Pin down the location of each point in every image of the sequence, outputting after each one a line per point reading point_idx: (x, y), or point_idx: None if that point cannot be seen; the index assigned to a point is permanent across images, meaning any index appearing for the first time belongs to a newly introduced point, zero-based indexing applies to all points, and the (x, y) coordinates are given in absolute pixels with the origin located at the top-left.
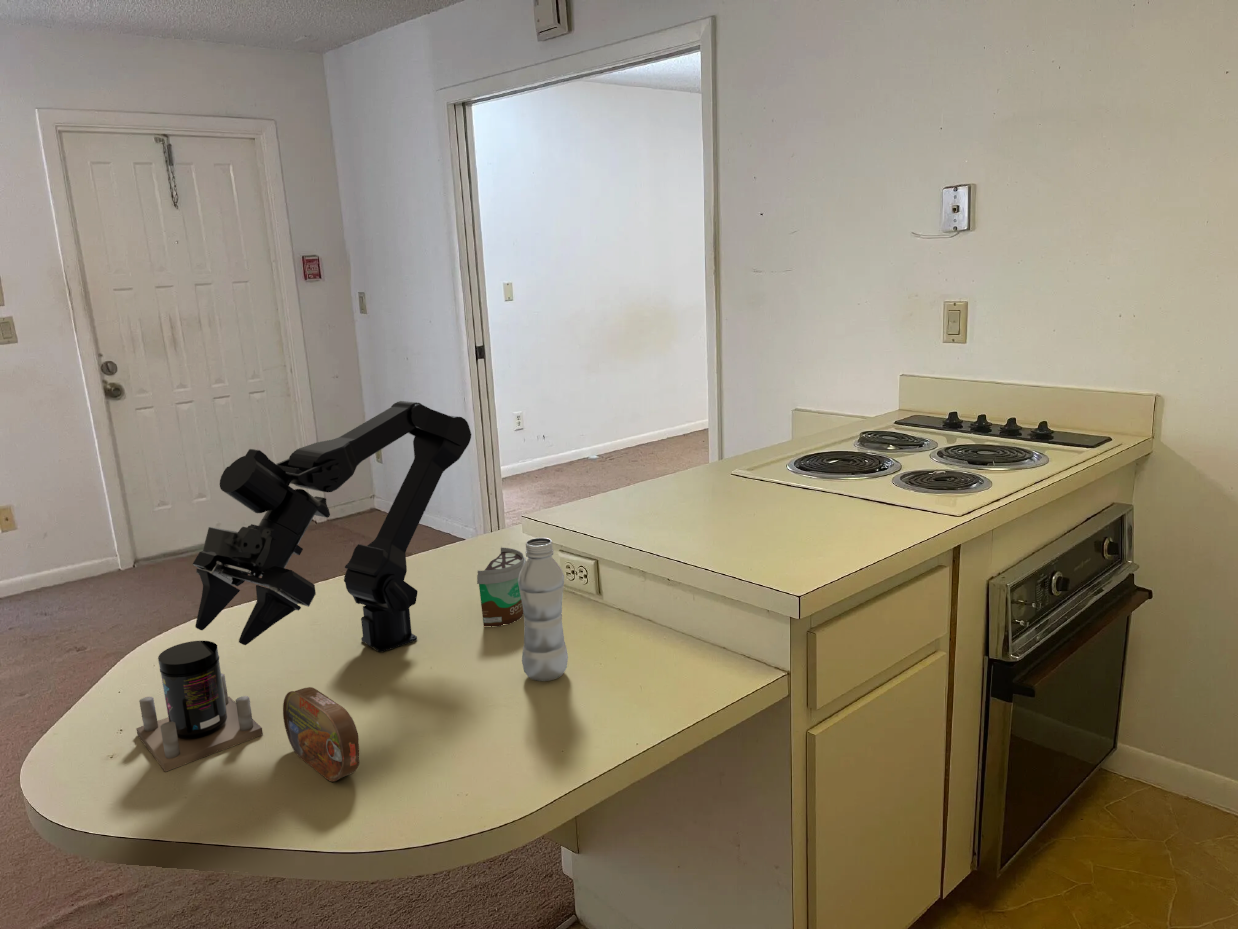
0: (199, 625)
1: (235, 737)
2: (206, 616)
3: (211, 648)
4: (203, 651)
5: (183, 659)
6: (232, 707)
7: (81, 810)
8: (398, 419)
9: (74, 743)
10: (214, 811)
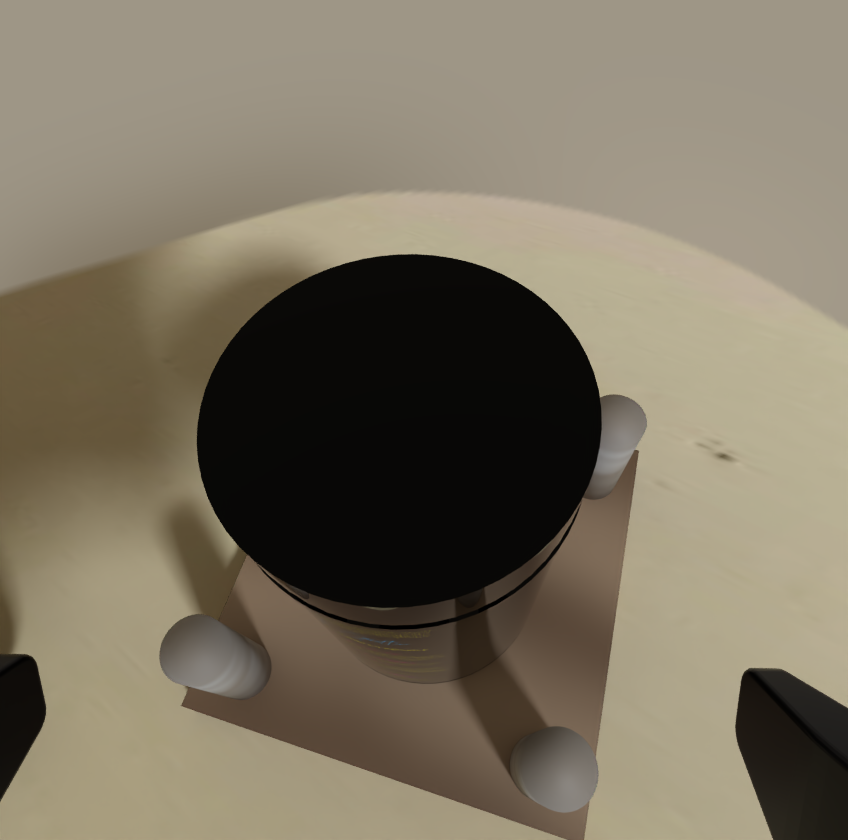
0: (757, 701)
1: (229, 595)
2: (831, 832)
3: (278, 522)
4: (299, 464)
5: (320, 331)
6: (459, 767)
7: (370, 226)
8: None
9: (750, 344)
10: (43, 363)
